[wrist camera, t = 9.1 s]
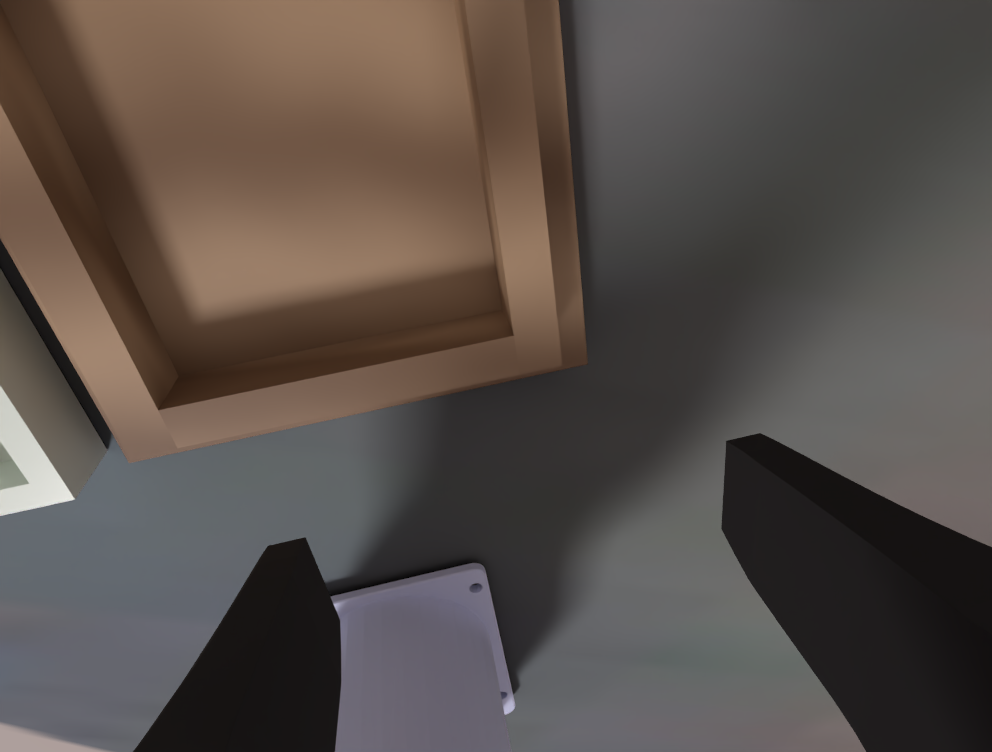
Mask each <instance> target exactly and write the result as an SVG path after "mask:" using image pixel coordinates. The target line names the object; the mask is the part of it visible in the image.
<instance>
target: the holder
mask: <svg viewBox="0 0 992 752" xmlns="http://www.w3.org/2000/svg"><path fill="white" fill-rule="evenodd" d="M0 239H1V241H2V242H3V244H4V246H5V247H6V249H7V251H8V253H9V254H10V256H11V258H12V260H13V261H14V263H15V265H16V267H17V268H18V270H19V272H20V274H21V275H22V277H23V279H24V281H25V282H26V284H27V286H28V288H29V289H30V291H31V293H32V295H33V296H34V298H35V300H36V302H37V303H38V305H39V307H40V308H41V310H42V312H43V314H44V315H45V317H46V319H47V321H48V322H49V324H50V326H51V328H52V329H53V331H54V333H55V335H56V336H57V338H58V340H59V342H60V343H61V345H62V347H63V349H64V350H65V352H66V354H67V356H68V357H69V359H70V361H71V363H72V364H73V366H74V368H75V369H76V371H77V373H78V375H79V376H80V378H81V380H82V382H83V383H84V385H85V387H86V389H87V390H88V392H89V394H90V396H91V397H92V399H93V401H94V403H95V404H96V406H97V408H98V410H99V411H100V413H101V415H102V417H103V418H104V420H105V422H106V424H107V425H108V427H109V429H110V430H111V432H112V434H113V436H114V437H115V439H116V441H117V443H118V444H119V446H120V448H121V450H122V451H123V453H124V455H125V457H126V458H127V460H128V462H129V463H132V462H136V461H141V460H146V459H150V458H155V457H160V456H164V455H169V454H174V453H178V452H183V451H187V450H192V449H197V448H201V447H206V446H211V445H215V444H220V443H225V442H229V441H234V440H238V439H243V438H248V437H252V436H257V435H262V434H266V433H271V432H276V431H280V430H285V429H290V428H294V427H299V426H303V425H308V424H313V423H317V422H322V421H327V420H331V419H336V418H341V417H345V416H350V415H355V414H359V413H364V412H368V411H373V410H378V409H382V408H387V407H392V406H396V405H401V404H406V403H410V402H415V401H420V400H424V399H429V398H433V397H438V396H443V395H447V394H452V393H457V392H461V391H466V390H471V389H475V388H480V387H485V386H489V385H494V384H498V383H503V382H508V381H512V380H517V379H522V378H526V377H531V376H536V375H540V374H545V373H550V372H554V371H559V370H563V369H568V368H573V367H577V366H582V365H587V364H588V359H587V347H586V334H585V322H584V310H583V297H582V285H581V272H580V260H579V248H578V235H577V223H576V210H575V198H574V185H573V173H572V161H571V148H570V136H569V123H568V111H567V99H566V86H565V74H564V61H563V49H562V37H561V24H560V12H559V0H0Z"/></svg>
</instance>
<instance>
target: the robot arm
mask: <svg viewBox="0 0 992 752" xmlns="http://www.w3.org/2000/svg"><path fill="white" fill-rule="evenodd" d="M722 531H723V533H724V534H725V536H726V538H727V540H728V542H729V544H730V546H731V548H732V550H733V552H734V554H735V556H736V558H737V559H738V561H739V563H740V565H741V567H742V568H743V570H744V572H745V574H746V575H747V577H748V579H749V581H750V582H751V584H752V585H753V587H754V588H755V590H756V591H757V593H758V594H759V595H760V597H761V598H762V600H763V601H764V603H765V604H766V605H767V607H768V608H769V610H770V611H771V613H772V614H773V615H774V617H775V618H776V620H777V621H778V623H779V624H780V625H781V627H782V628H783V630H784V631H785V632H786V634H787V635H788V637H789V638H790V639H791V641H792V642H793V644H794V645H795V646H796V648H797V649H798V651H799V652H800V653H801V655H802V656H803V658H804V659H805V660H806V662H807V663H808V665H809V666H810V667H811V669H812V670H813V672H814V673H815V674H816V676H817V677H818V679H819V680H820V681H821V683H822V684H823V686H824V687H825V688H826V690H827V691H828V693H829V694H830V695H831V697H832V698H833V700H834V701H835V703H836V704H837V706H838V707H839V709H840V710H841V712H842V713H843V715H844V716H845V718H846V719H847V721H848V722H849V724H850V725H851V727H852V728H853V730H854V732H855V733H856V735H857V737H858V738H859V740H860V742H861V743H862V745H863V747H864V748H865V750H866V752H992V547H990V546H987V545H985V544H983V543H980V542H978V541H976V540H973V539H971V538H969V537H967V536H965V535H962V534H960V533H958V532H956V531H954V530H952V529H949V528H947V527H945V526H943V525H941V524H938V523H936V522H934V521H932V520H930V519H927V518H925V517H923V516H921V515H919V514H917V513H915V512H913V511H911V510H909V509H907V508H905V507H902V506H900V505H898V504H896V503H894V502H892V501H890V500H888V499H886V498H884V497H882V496H880V495H878V494H876V493H874V492H872V491H871V490H869V489H867V488H865V487H863V486H861V485H859V484H857V483H855V482H853V481H851V480H849V479H847V478H845V477H843V476H842V475H840V474H838V473H836V472H834V471H832V470H830V469H828V468H826V467H825V466H823V465H821V464H819V463H817V462H815V461H813V460H811V459H810V458H808V457H806V456H804V455H802V454H800V453H798V452H796V451H794V450H793V449H791V448H789V447H787V446H785V445H783V444H781V443H779V442H777V441H775V440H773V439H771V438H769V437H767V436H765V435H763V434H761V433H759V434H755V435H750V436H746V437H742V438H737V439H733V440H729V441H726V458H725V476H724V493H723V511H722ZM475 583H479V584H477V585H472V584H475ZM514 708H515V701H514V696H513V692H512V687H511V683H510V678H509V674H508V669H507V665H506V660H505V656H504V651H503V647H502V642H501V638H500V633H499V629H498V624H497V620H496V615H495V611H494V606H493V602H492V597H491V593H490V588H489V584H488V580H487V575H486V571H485V568H484V566H483V565H481V564H478V563H470V564H465V565H461V566H457V567H453V568H448V569H444V570H440V571H436V572H432V573H427V574H423V575H419V576H415V577H410V578H406V579H402V580H398V581H394V582H389V583H385V584H381V585H377V586H372V587H368V588H364V589H360V590H356V591H351V592H347V593H343V594H339V595H334V596H330V595H329V592H328V590H327V588H326V585H325V583H324V580H323V578H322V576H321V573H320V571H319V569H318V566H317V564H316V561H315V559H314V557H313V554H312V552H311V549H310V547H309V545H308V542H307V540H306V538H301V539H296V540H292V541H288V542H283V543H279V544H275V545H270V546H268V547H267V548H266V550H265V551H264V552H263V554H262V556H261V557H260V559H259V560H258V562H257V564H256V565H255V567H254V569H253V570H252V572H251V574H250V575H249V577H248V578H247V580H246V582H245V583H244V585H243V587H242V588H241V590H240V592H239V593H238V595H237V597H236V598H235V600H234V602H233V603H232V605H231V607H230V608H229V610H228V611H227V613H226V615H225V616H224V618H223V620H222V621H221V623H220V624H219V626H218V628H217V629H216V631H215V632H214V634H213V635H212V637H211V639H210V640H209V642H208V643H207V645H206V646H205V648H204V650H203V651H202V653H201V654H200V656H199V657H198V659H197V660H196V662H195V664H194V665H193V667H192V668H191V670H190V671H189V673H188V674H187V676H186V677H185V679H184V680H183V682H182V683H181V685H180V686H179V688H178V689H177V690H176V692H175V693H174V695H173V696H172V698H171V699H170V701H169V702H168V703H167V705H166V706H165V708H164V709H163V711H162V712H161V713H160V715H159V716H158V718H157V719H156V721H155V722H154V723H153V725H152V726H151V728H150V729H149V731H148V732H147V733H146V735H145V736H144V738H143V739H142V740H141V742H140V743H139V745H138V746H137V747H136V749H135V750H134V751H133V752H511V747H510V741H509V736H508V730H507V725H506V720H505V714H508V713H510V712H512V711H513V710H514Z"/></svg>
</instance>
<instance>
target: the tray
mask: <svg viewBox="0 0 992 752" xmlns="http://www.w3.org/2000/svg"><path fill="white" fill-rule="evenodd" d="M107 451H108V450H107V449H106V447H105V445H104V444H103V442H102V440H101V439H100V437H99V435H98V433H97V432H96V430H95V428H94V427H93V425H92V423H91V422H90V420H89V418H88V416H87V415H86V413H85V411H84V410H83V408H82V406H81V405H80V403H79V401H78V399H77V398H76V396H75V394H74V393H73V391H72V389H71V388H70V386H69V384H68V383H67V381H66V379H65V377H64V376H63V374H62V372H61V371H60V369H59V367H58V366H57V364H56V362H55V360H54V359H53V357H52V355H51V354H50V352H49V350H48V349H47V347H46V345H45V343H44V342H43V340H42V338H41V337H40V335H39V333H38V332H37V330H36V328H35V326H34V325H33V323H32V321H31V320H30V318H29V316H28V315H27V313H26V311H25V309H24V308H23V306H22V304H21V303H20V301H19V299H18V298H17V296H16V294H15V292H14V291H13V289H12V287H11V286H10V284H9V282H8V281H7V279H6V277H5V276H4V274H3V272H2V270H1V269H0V516H2V515H6V514H11V513H16V512H20V511H25V510H29V509H34V508H38V507H43V506H48V505H52V504H57V503H61V502H66V501H71V500H75V499H76V497H77V496H78V494H79V493H80V491H81V490H82V488H83V487H84V485H85V484H86V482H87V481H88V479H89V478H90V476H91V475H92V473H93V472H94V470H95V469H96V467H97V466H98V464H99V463H100V461H101V460H102V458H103V457H104V455H105V454H106V452H107Z"/></svg>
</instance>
